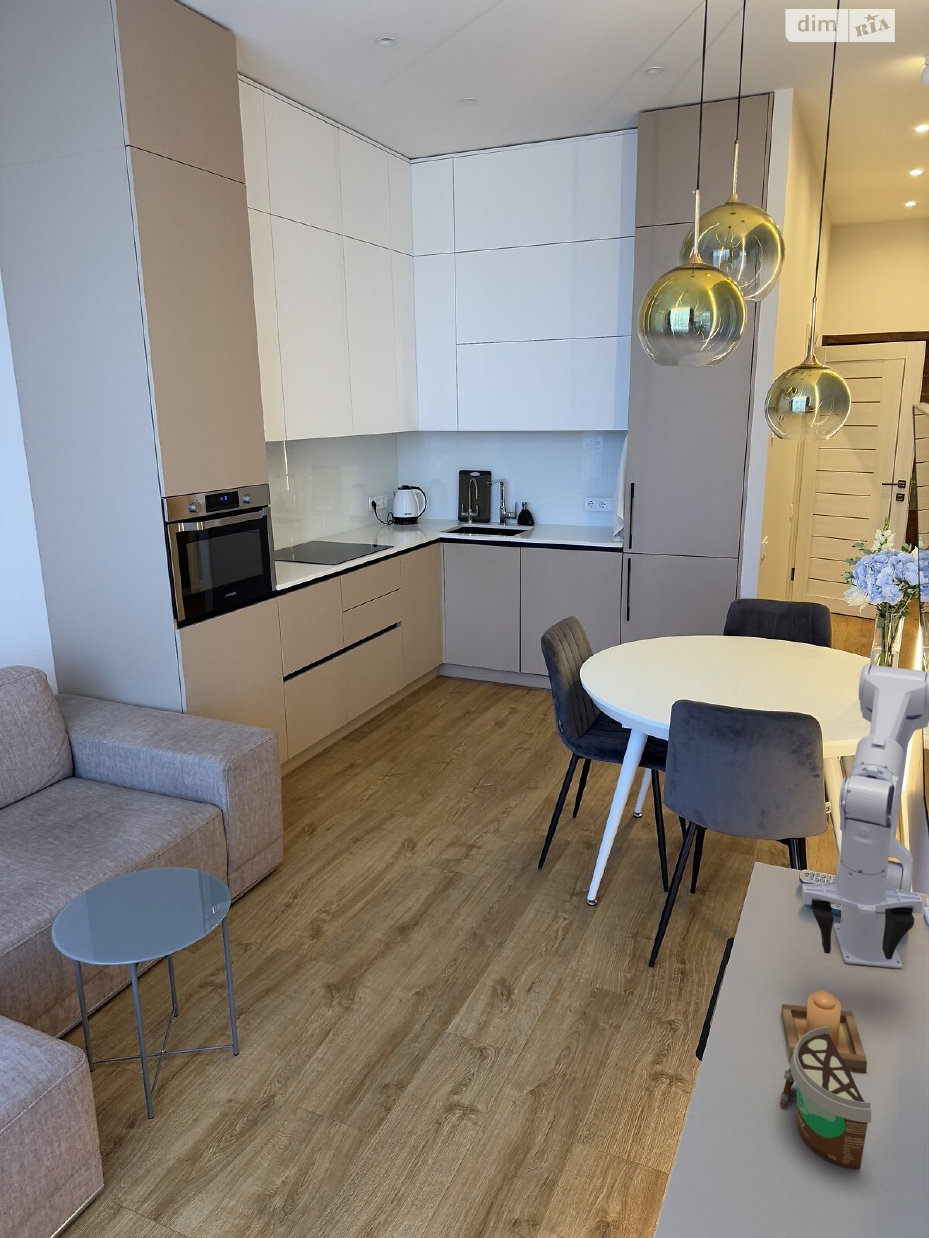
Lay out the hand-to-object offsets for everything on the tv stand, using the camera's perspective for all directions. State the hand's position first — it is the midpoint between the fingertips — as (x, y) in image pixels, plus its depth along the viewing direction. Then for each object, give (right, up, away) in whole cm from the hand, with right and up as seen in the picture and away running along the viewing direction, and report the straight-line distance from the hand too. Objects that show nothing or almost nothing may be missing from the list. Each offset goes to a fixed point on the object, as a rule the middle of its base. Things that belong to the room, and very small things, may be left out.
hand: (856, 951), depth 115 cm
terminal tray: (-6, -11, -3) cm, 13 cm away
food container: (-12, -15, -16) cm, 25 cm away
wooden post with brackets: (-11, -13, -10) cm, 20 cm away
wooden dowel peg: (-6, -10, -3) cm, 12 cm away
